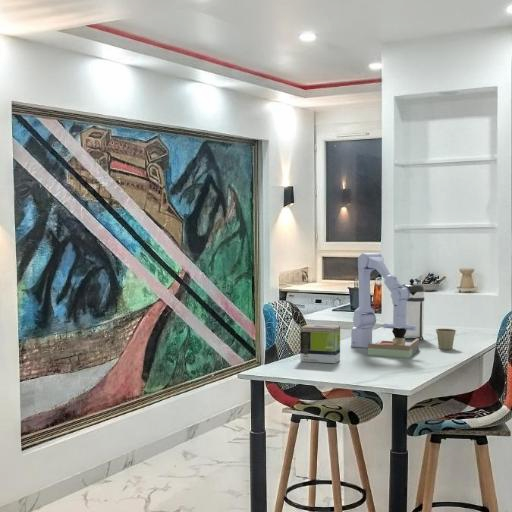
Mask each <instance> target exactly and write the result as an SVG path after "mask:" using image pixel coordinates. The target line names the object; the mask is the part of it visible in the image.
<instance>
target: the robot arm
mask: <svg viewBox="0 0 512 512" xmlns="http://www.w3.org/2000/svg"><path fill="white" fill-rule="evenodd" d="M357 268H358V269H357V271H358V278H357V279H358V307H357V308H356V309H355V310H354V313H353V316H352V322H353V325H354V326H353V327H352V328H351V332H350V333H351V336H350V337H351V338H350V339H351V340H350V341H351V342H350V347H355V348H365V349H366V348H367V349H368V343H373V328H374V326H375V325H376V324H377V316H376V313H375V312H376V311H375V309H373V308H372V306H371V305H372V304H371V303H372V302H371V273H372V272H373V271H374V270H376V271H377V272H378V273H379V274H380V276H381V277H382V278H383V280H384V281H383V282H384V283H383V284H384V285H385V286H386V288H387V289H388V291H389V292H390V298H391V300H392V305H393V311H392V312H393V313H392V314H393V317H392V319H393V320H392V323H385V322H384V323H383V324H382V325H383V327H382V329H390V330H391V331H392V334H393V337H394V338H403V337H404V335H405V333H406V331H407V330H413V331H416V326H412V325H406V314H407V300H408V299H409V297H410V292H409V290H408V288H407V287H404V286H402V285H403V284H402V283H401V282H400V281H399V279H398V277H397V276H396V275H393V274H391V272H390V270H389V269H388V268H387V266H386V264H385V263H384V257H383V256H382V254H381V253H380V252H374V253H372V252H371V253H365V252H361V253H360V255H359V256H358V257H357Z"/></svg>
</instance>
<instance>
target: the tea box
mask: <svg viewBox="0 0 512 512" xmlns="http://www.w3.org/2000/svg"><path fill="white" fill-rule="evenodd" d="M299 330H300V333H299V334H300V340H299V341H300V342H299V343H300V345H299V346H300V348H299V351H300V355H299V356H300V358H299V360H300V362H305V363H307V362H308V363H323V364H337V363H338V362H339V361H340V360H341V326H340V325H330V324H329V325H326V324H325V325H324V324H305V325H302V326H301V327H300V329H299Z"/></svg>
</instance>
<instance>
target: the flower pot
mask: <svg viewBox="0 0 512 512" xmlns="http://www.w3.org/2000/svg"><path fill="white" fill-rule="evenodd" d="M435 332H436V334H437V344H438V349H441V350H452V349H453V347H454V340H455V335H456V332H457V329H453V328H436V329H435Z"/></svg>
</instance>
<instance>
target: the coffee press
mask: <svg viewBox="0 0 512 512" xmlns="http://www.w3.org/2000/svg"><path fill="white" fill-rule="evenodd" d="M414 282H415V280H414V279H413V278H410V279H409V283H404V284H401V285H402V286H404V287H407V288H408V290H409V292H410V297H409V299H408V300H407V314H406V325H412V326H416V331H413V330H407V331H406V333H405V335H404V337H403V338H405V339H406V338H415V339H419V341H420V340H421V341H424V336H423V335H424V315H425V314H424V313H425V312H424V309H425V292H426V289H425V288H424V286H423V285H422V284H419V283H418V284H417V283H414Z"/></svg>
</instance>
